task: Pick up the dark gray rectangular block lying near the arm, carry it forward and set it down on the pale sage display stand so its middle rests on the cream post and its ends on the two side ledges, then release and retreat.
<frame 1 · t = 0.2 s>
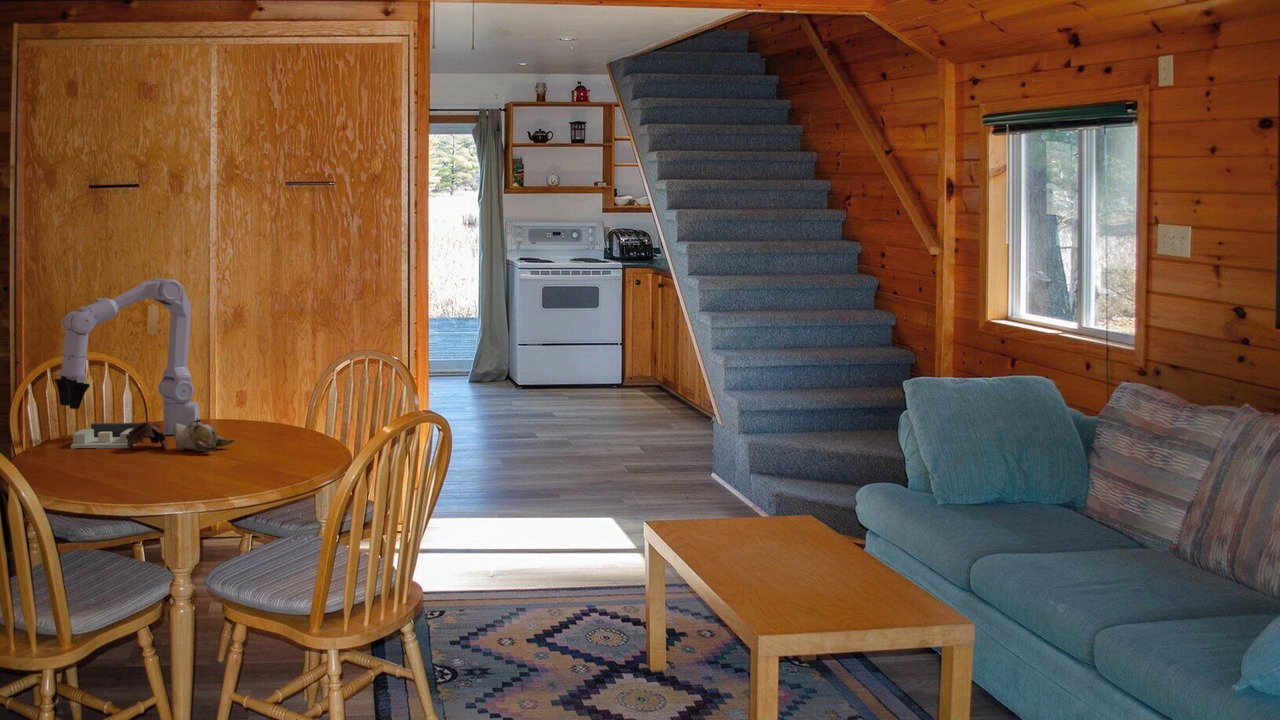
hand: (69, 407, 328), 10 cm above the table, fingers open, 7 cm apart
ceramic sculpture: (200, 451, 325), on the table
dark gray rectangular block: (117, 437, 342), on the table
dark brown legged piece: (149, 449, 327), on the table
stand: (105, 445, 331), on the table
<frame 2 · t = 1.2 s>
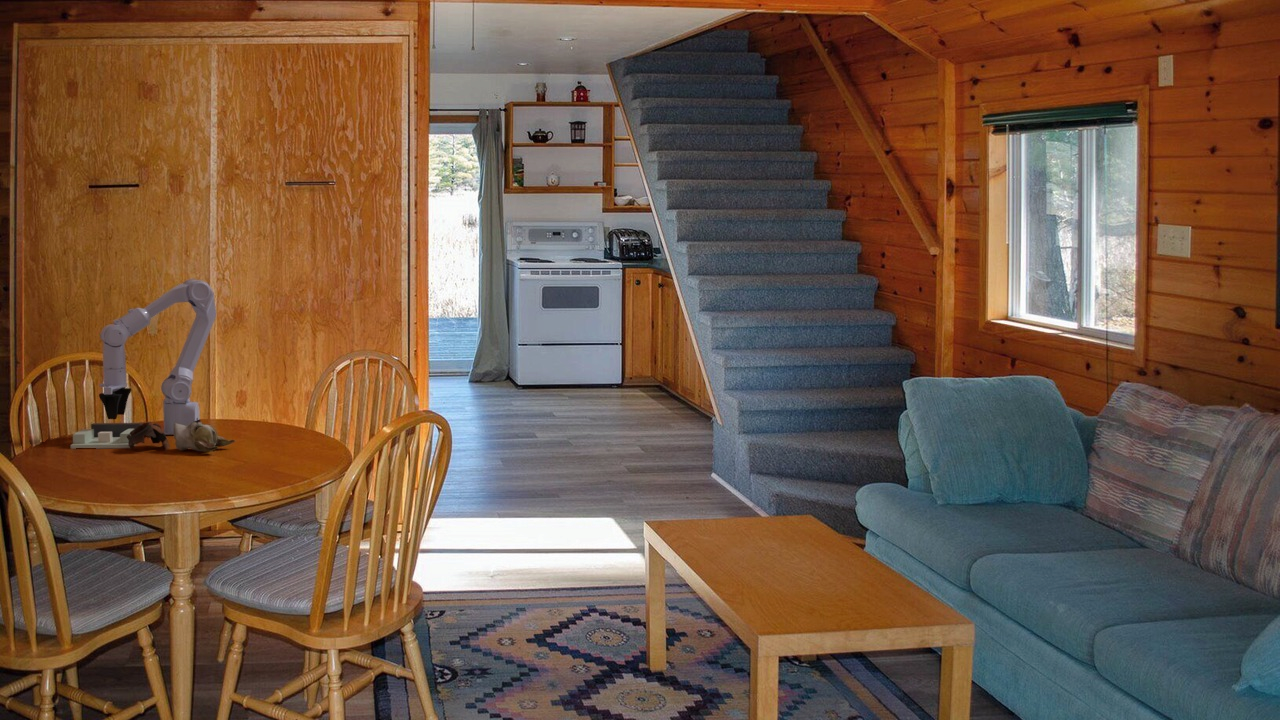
hand: (116, 416, 341), 6 cm above the table, fingers open, 7 cm apart
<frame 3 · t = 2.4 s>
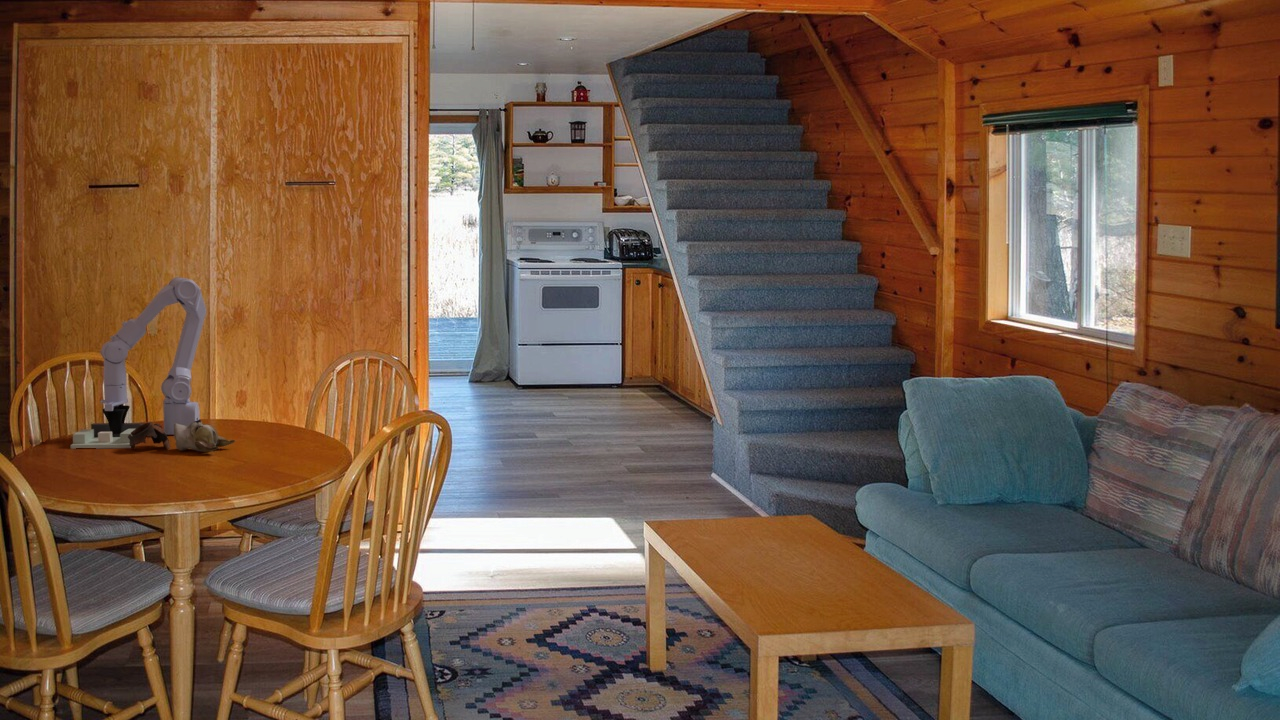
hand: (117, 432, 341), 1 cm above the table, fingers closed on dark gray rectangular block, 2 cm apart
dark gray rectangular block: (117, 437, 342), on the table, touching gripper
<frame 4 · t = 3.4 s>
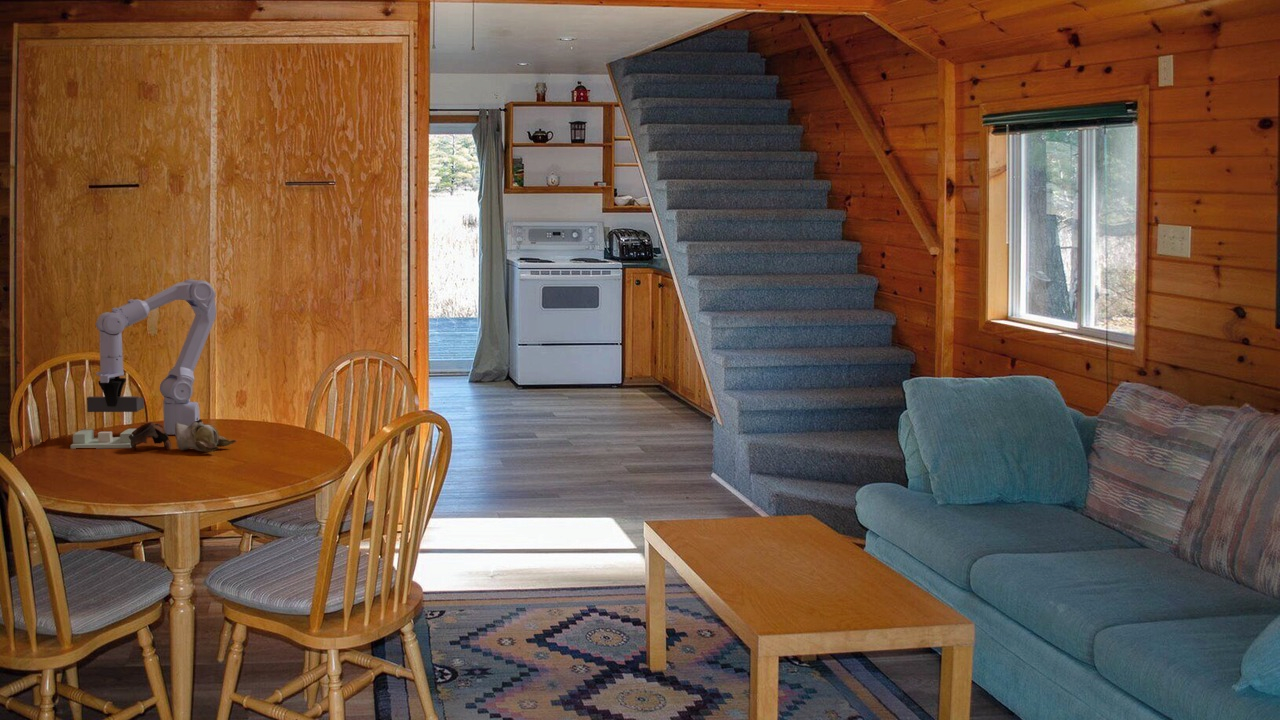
hand: (113, 405, 338), 9 cm above the table, fingers closed on dark gray rectangular block
dark gray rectangular block: (113, 411, 338), point 8 cm above the table, touching gripper
everything else where it was.
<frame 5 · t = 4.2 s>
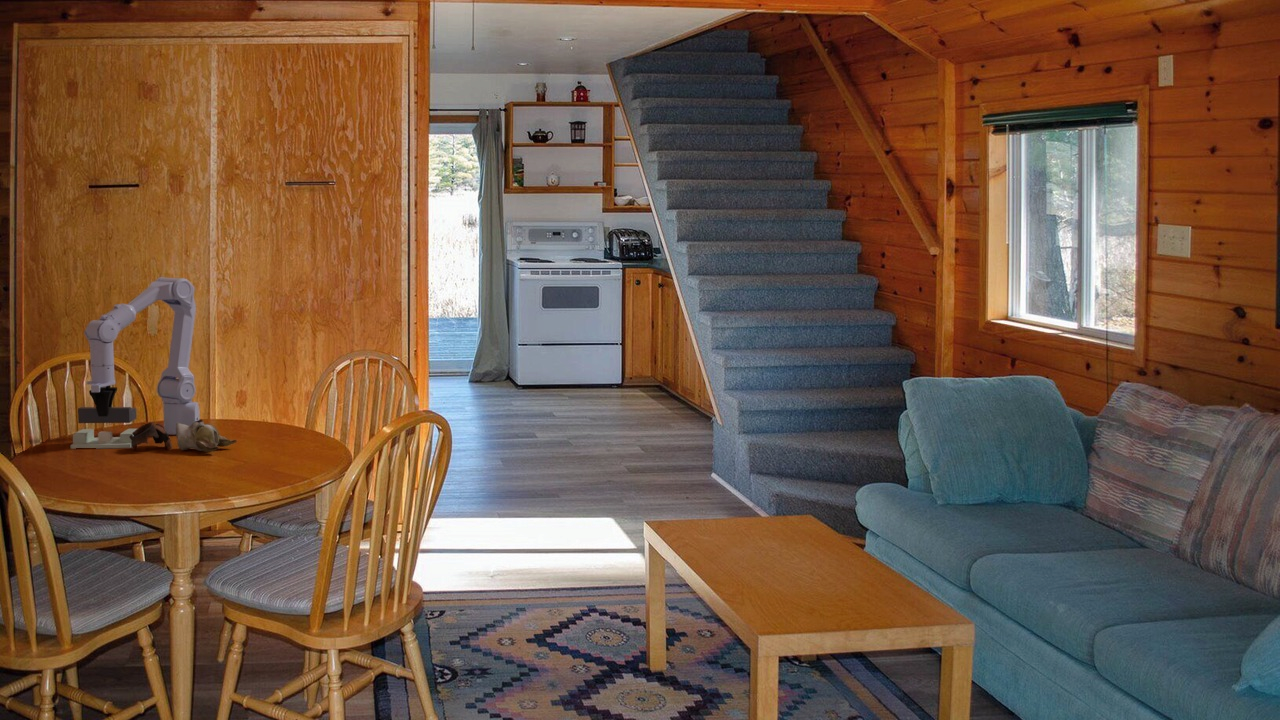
hand: (104, 415, 330), 8 cm above the table, fingers closed on dark gray rectangular block
dark gray rectangular block: (105, 422, 330), point 6 cm above the table, touching gripper
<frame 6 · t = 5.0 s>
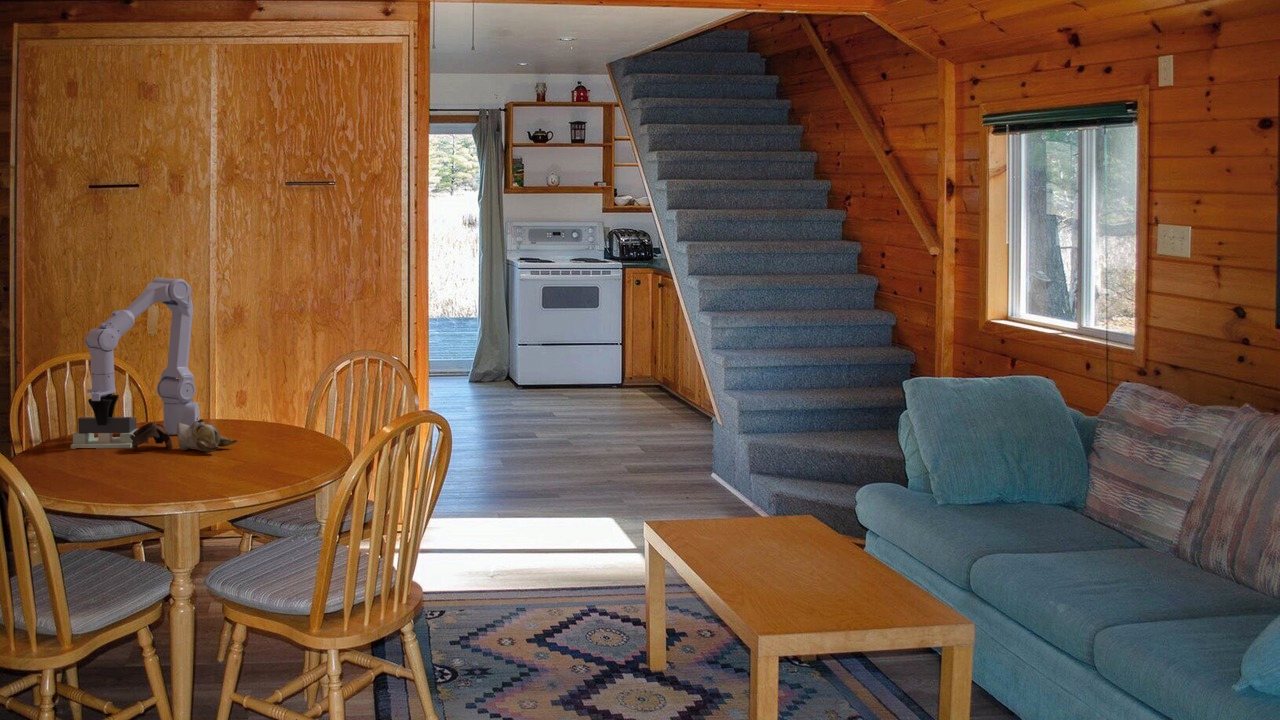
hand: (104, 423, 330), 6 cm above the table, fingers open, 4 cm apart
dark gray rectangular block: (105, 432, 330), point 3 cm above the table, touching stand
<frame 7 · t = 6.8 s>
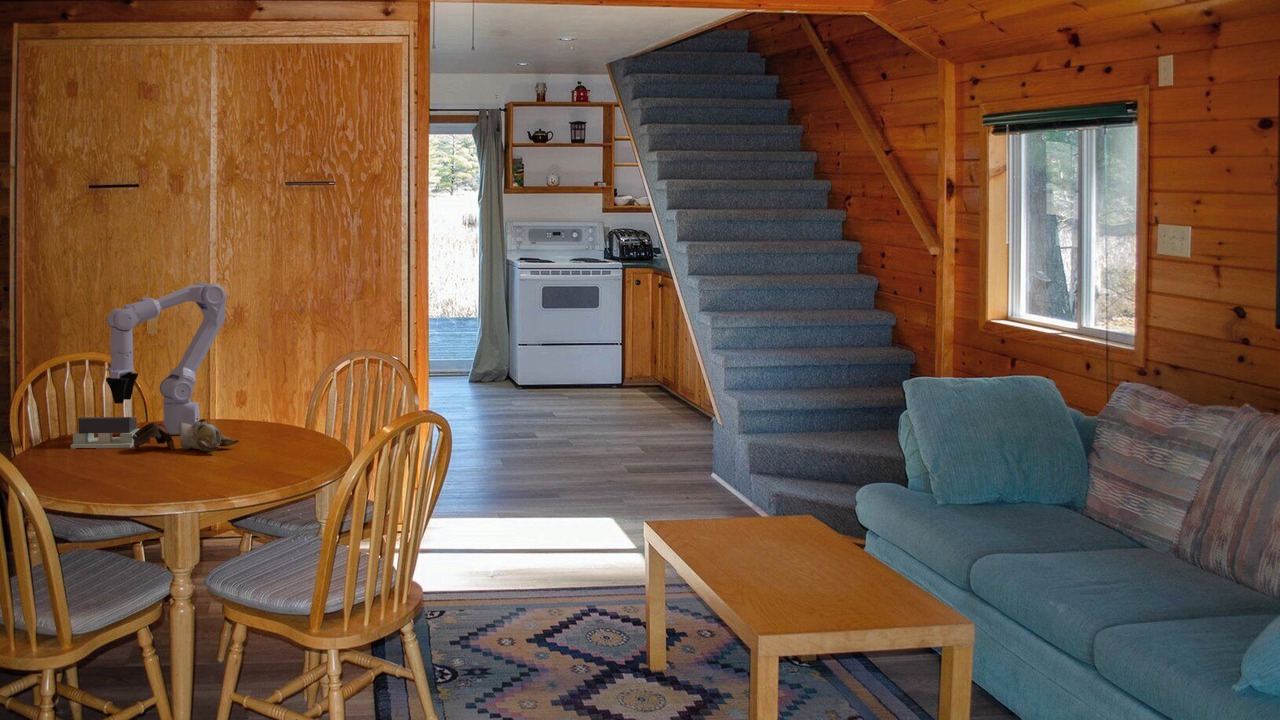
hand: (122, 401, 339), 10 cm above the table, fingers open, 7 cm apart
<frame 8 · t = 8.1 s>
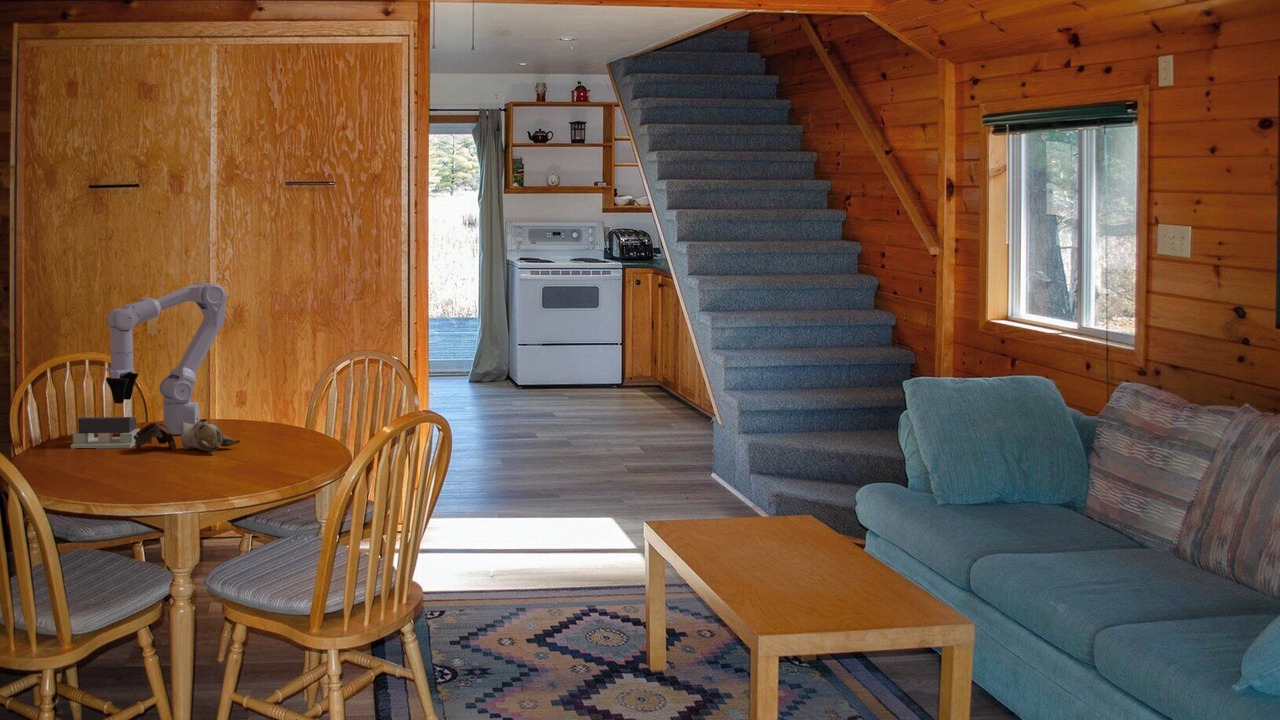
hand: (122, 401, 339), 10 cm above the table, fingers open, 7 cm apart
at the end: dark gray rectangular block 0.1 cm off-centre on the stand, point 3.5 cm above the stand's base; dark gray rectangular block tilted 0°; dark gray rectangular block touching stand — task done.
